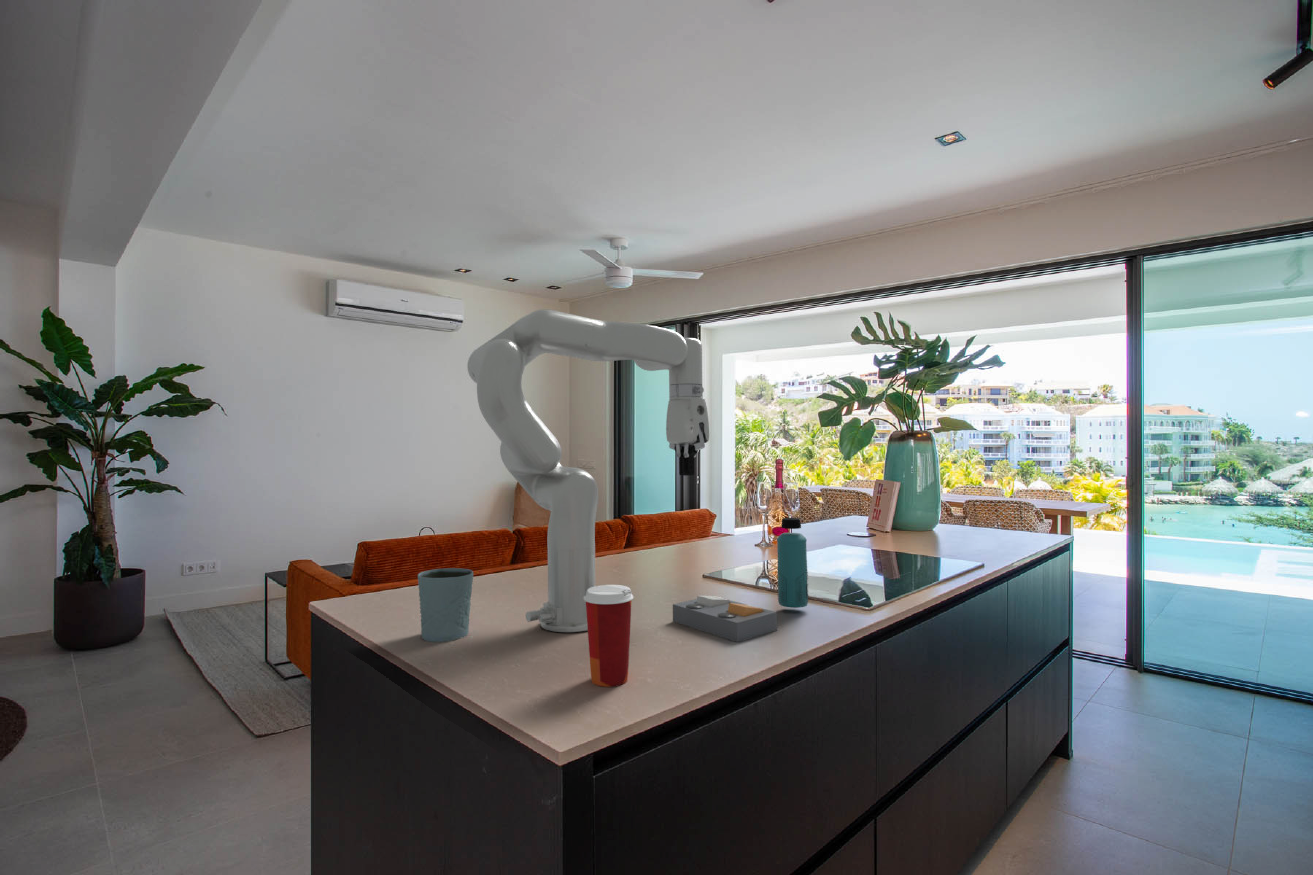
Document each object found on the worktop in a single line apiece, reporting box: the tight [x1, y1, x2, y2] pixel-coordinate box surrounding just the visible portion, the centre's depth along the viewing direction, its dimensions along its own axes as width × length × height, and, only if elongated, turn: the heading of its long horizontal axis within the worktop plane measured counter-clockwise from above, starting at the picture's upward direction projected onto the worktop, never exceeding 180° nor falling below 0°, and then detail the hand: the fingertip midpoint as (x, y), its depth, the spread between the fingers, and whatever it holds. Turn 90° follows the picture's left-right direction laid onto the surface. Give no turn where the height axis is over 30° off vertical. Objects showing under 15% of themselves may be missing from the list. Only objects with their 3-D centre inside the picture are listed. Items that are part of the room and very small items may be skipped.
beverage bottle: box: [776, 517, 809, 609], centre depth 139 cm, size 6×7×20 cm
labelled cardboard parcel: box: [728, 603, 764, 617], centre depth 126 cm, size 5×4×2 cm
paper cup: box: [584, 584, 634, 688], centre depth 100 cm, size 8×8×14 cm
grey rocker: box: [696, 595, 730, 608], centre depth 133 cm, size 5×4×2 cm
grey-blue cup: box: [417, 567, 475, 643], centre depth 124 cm, size 10×10×12 cm
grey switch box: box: [672, 598, 778, 643], centre depth 128 cm, size 11×18×4 cm, turn 39°
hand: (686, 475), depth 145 cm, fingers closed
